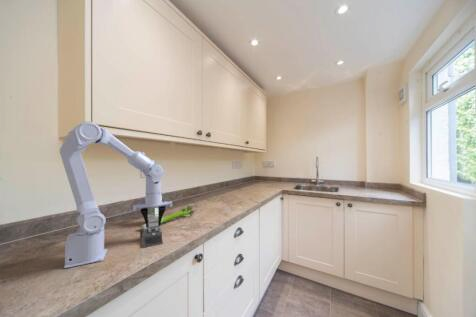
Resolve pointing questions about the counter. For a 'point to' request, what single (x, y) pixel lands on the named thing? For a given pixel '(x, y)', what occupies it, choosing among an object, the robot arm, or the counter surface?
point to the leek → (174, 215)
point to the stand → (151, 238)
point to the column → (153, 224)
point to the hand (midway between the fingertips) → (153, 225)
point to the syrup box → (153, 210)
